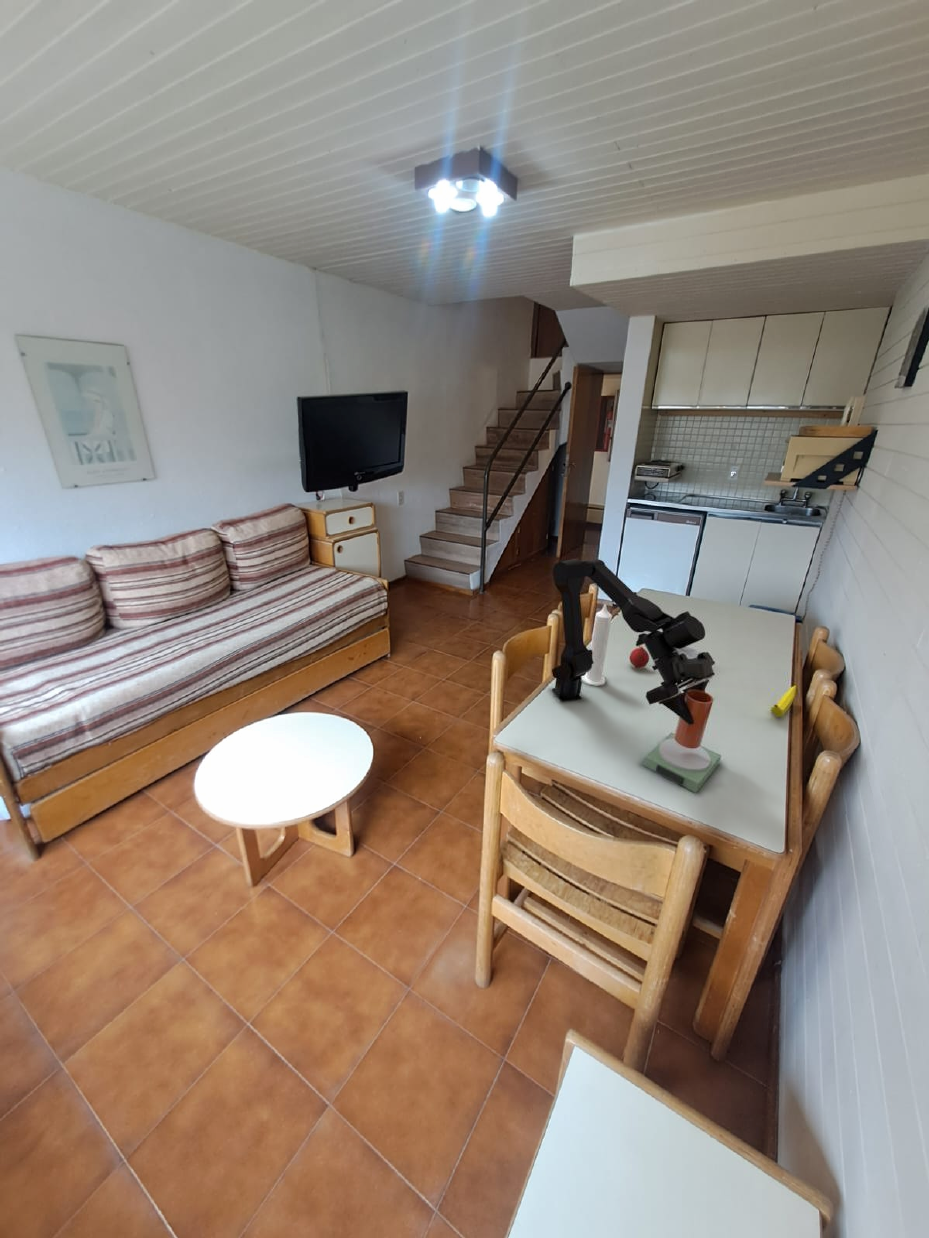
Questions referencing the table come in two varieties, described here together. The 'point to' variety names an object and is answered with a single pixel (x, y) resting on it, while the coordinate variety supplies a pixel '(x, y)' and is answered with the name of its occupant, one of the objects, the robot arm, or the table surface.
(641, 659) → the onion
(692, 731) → the tumbler
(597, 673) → the candle
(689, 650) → the bowl
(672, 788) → the table surface
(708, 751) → the scale
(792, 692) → the banana
